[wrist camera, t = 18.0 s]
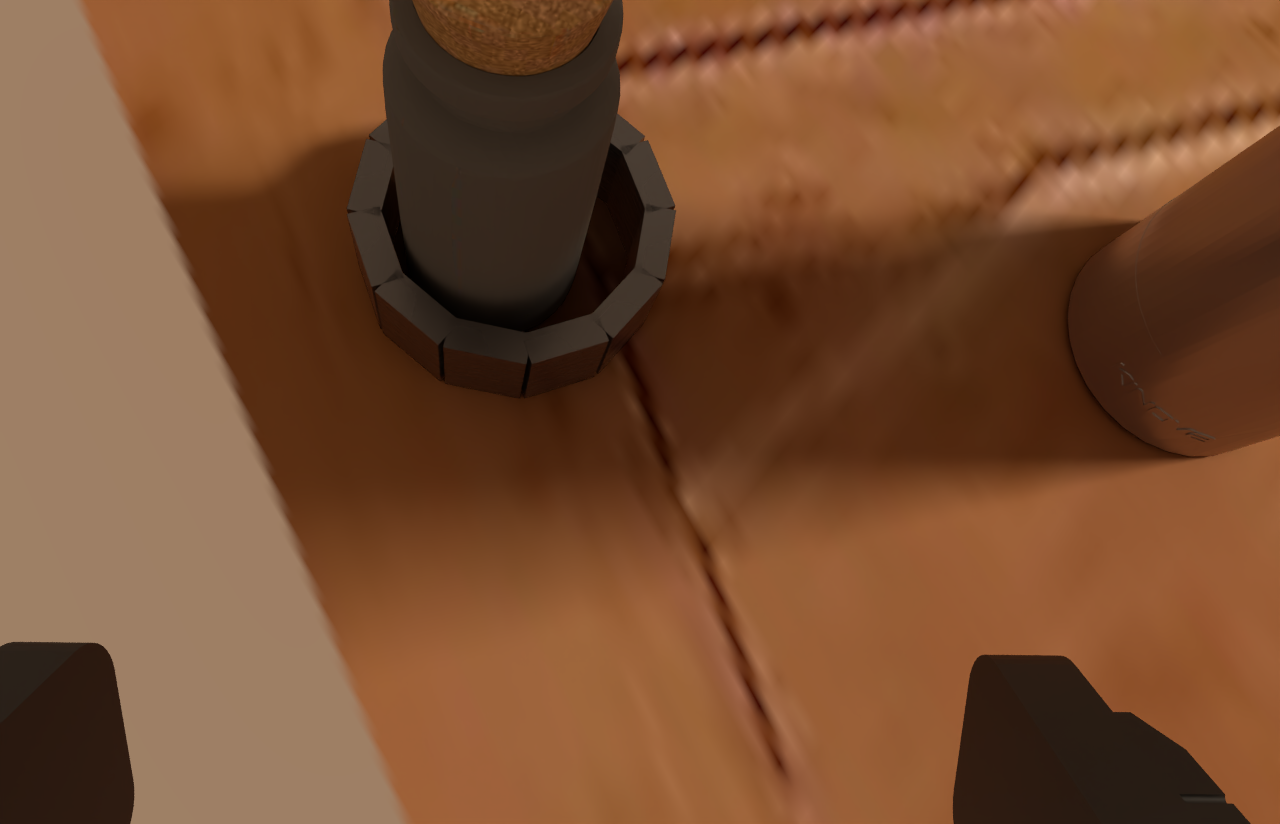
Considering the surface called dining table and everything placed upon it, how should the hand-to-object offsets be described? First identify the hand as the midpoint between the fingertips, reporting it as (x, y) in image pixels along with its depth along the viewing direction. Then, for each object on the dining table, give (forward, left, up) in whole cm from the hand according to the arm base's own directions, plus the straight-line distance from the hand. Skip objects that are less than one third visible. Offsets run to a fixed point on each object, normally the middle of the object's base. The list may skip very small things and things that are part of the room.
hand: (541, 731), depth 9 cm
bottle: (-11, -10, -21) cm, 26 cm away
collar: (-12, -9, -21) cm, 26 cm away
